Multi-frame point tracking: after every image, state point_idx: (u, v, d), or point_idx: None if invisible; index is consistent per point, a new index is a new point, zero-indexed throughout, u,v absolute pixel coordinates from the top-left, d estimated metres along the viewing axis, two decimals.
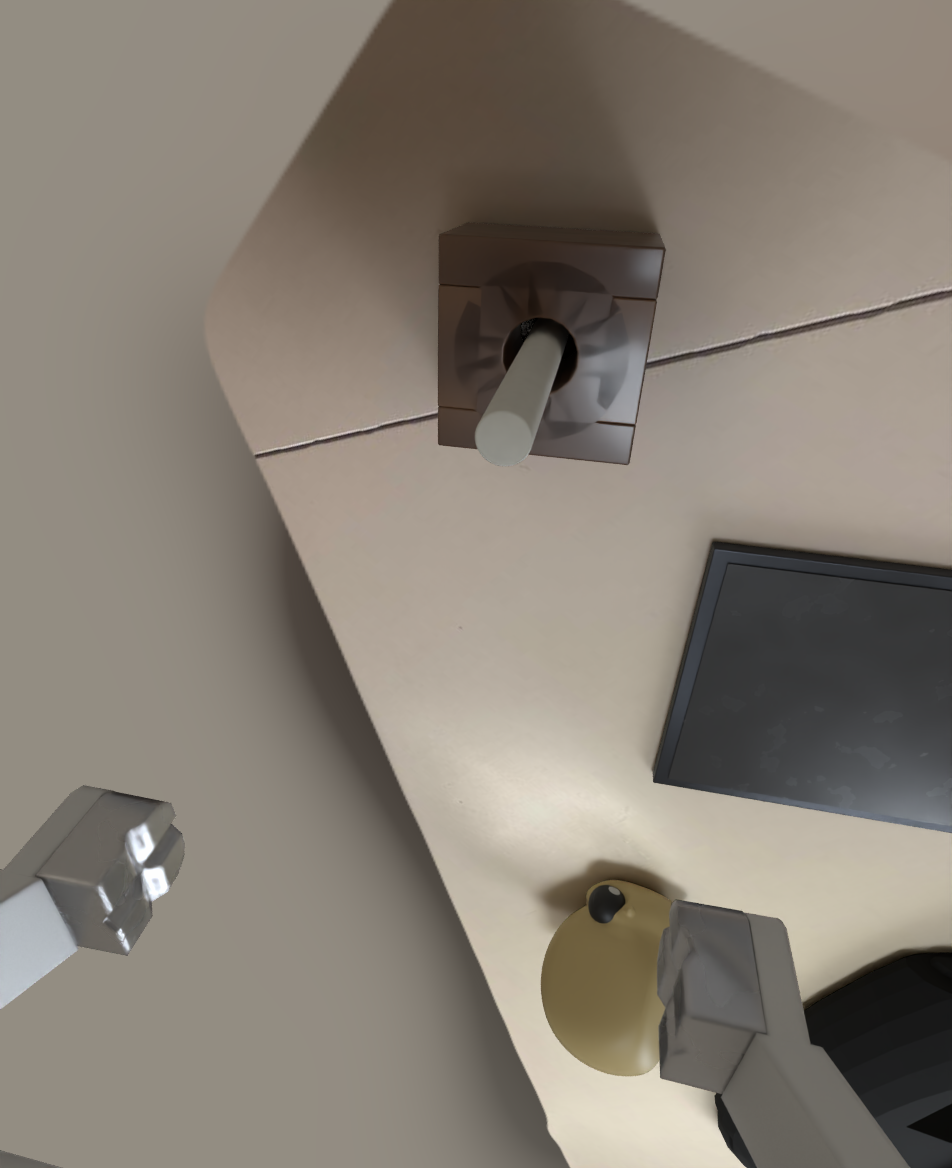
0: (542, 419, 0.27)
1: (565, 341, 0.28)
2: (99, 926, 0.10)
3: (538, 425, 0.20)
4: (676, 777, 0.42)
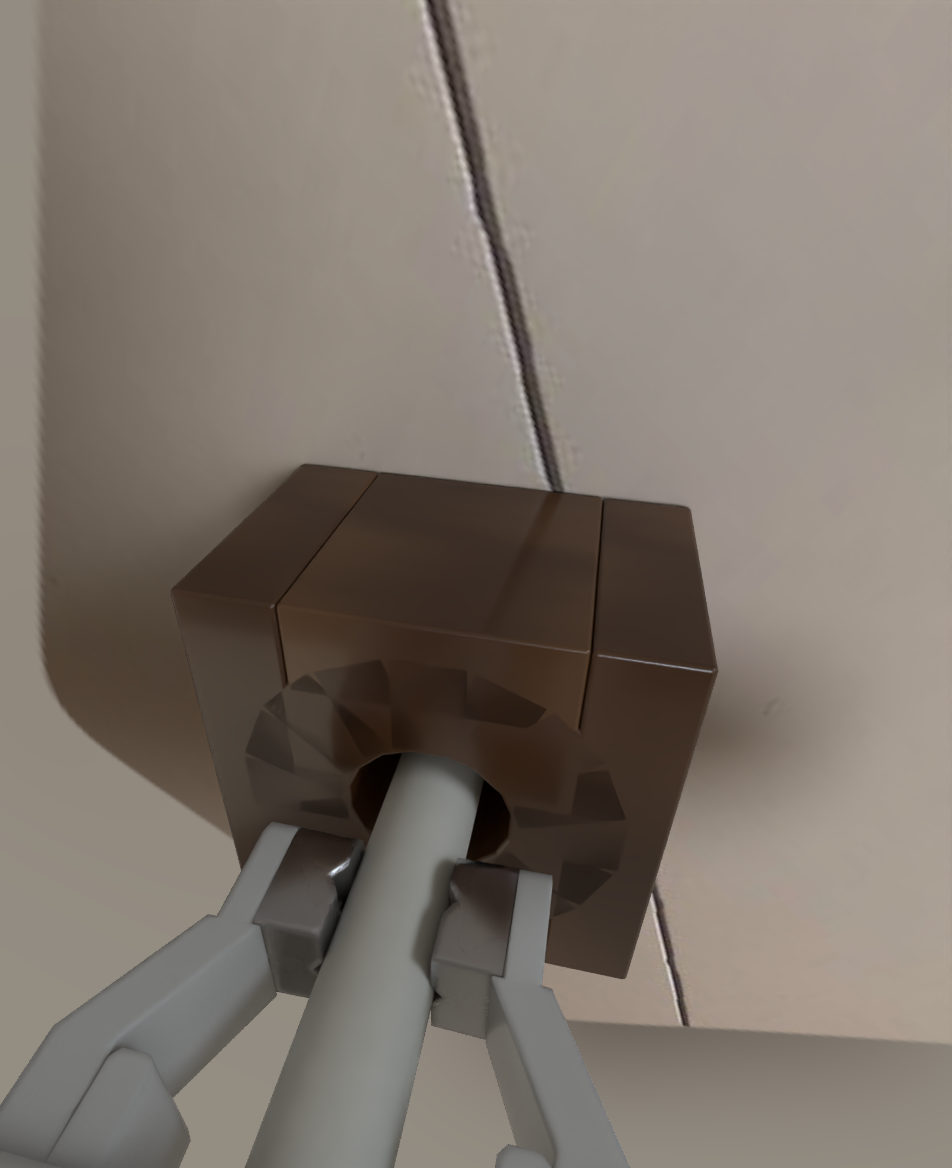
0: (570, 827, 0.11)
1: None
2: (308, 973, 0.10)
3: None
4: None
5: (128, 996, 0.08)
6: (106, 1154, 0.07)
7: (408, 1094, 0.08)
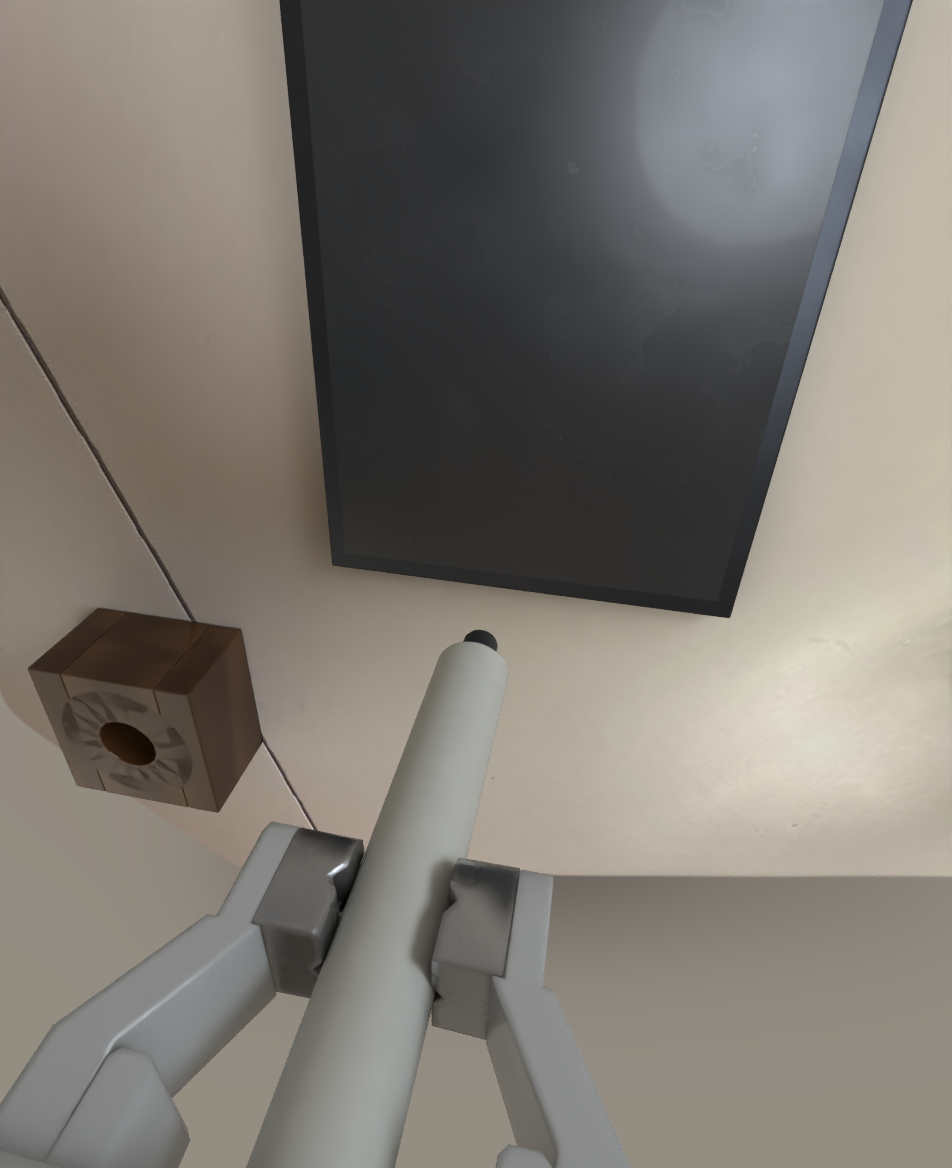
0: (172, 748, 0.32)
1: (451, 691, 0.13)
2: (307, 973, 0.10)
3: None
4: (714, 590, 0.27)
5: (127, 996, 0.08)
6: (105, 1154, 0.07)
7: (408, 1097, 0.08)
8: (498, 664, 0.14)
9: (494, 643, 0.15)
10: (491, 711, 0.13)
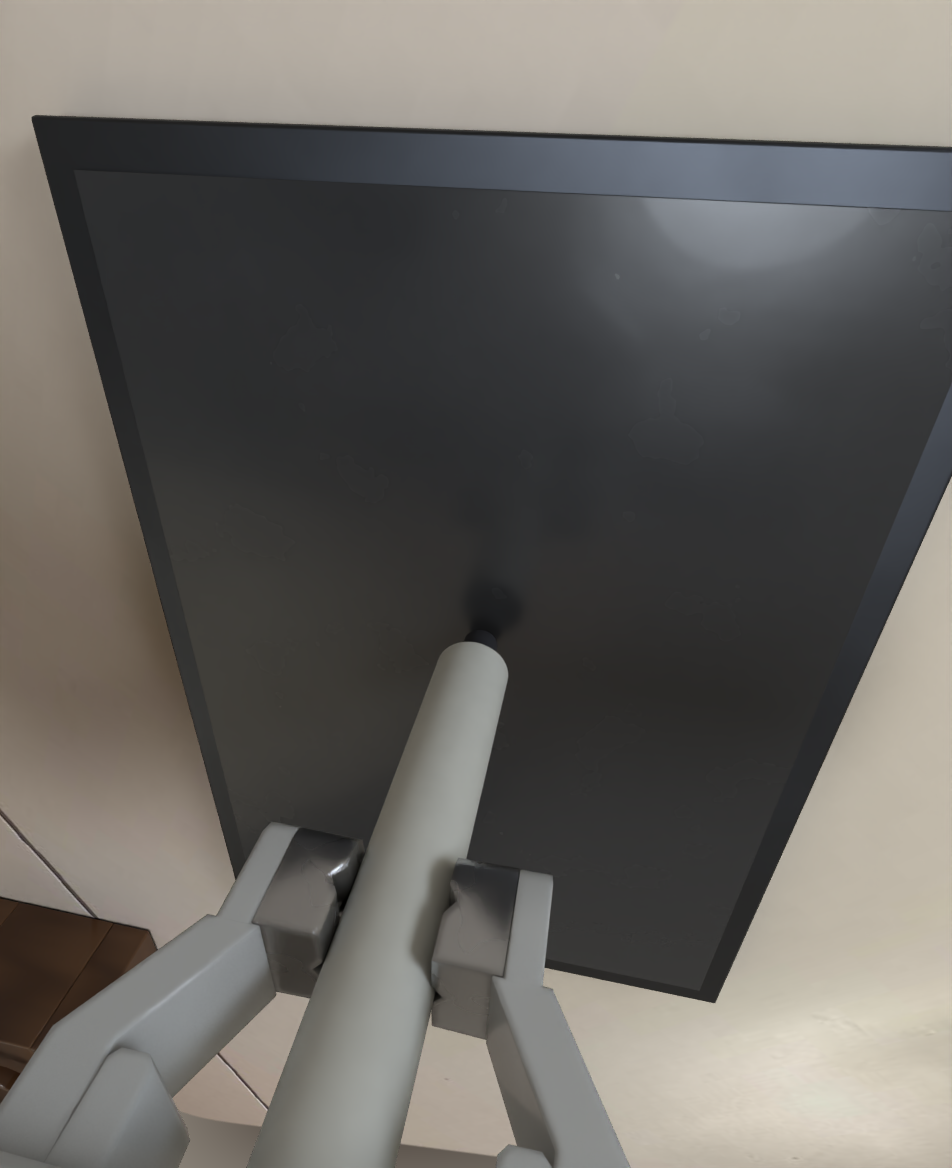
0: None
1: (451, 691, 0.13)
2: (307, 973, 0.10)
3: None
4: (696, 981, 0.22)
5: (127, 996, 0.08)
6: (105, 1154, 0.07)
7: (408, 1096, 0.08)
8: (498, 664, 0.14)
9: (494, 643, 0.15)
10: (491, 711, 0.13)
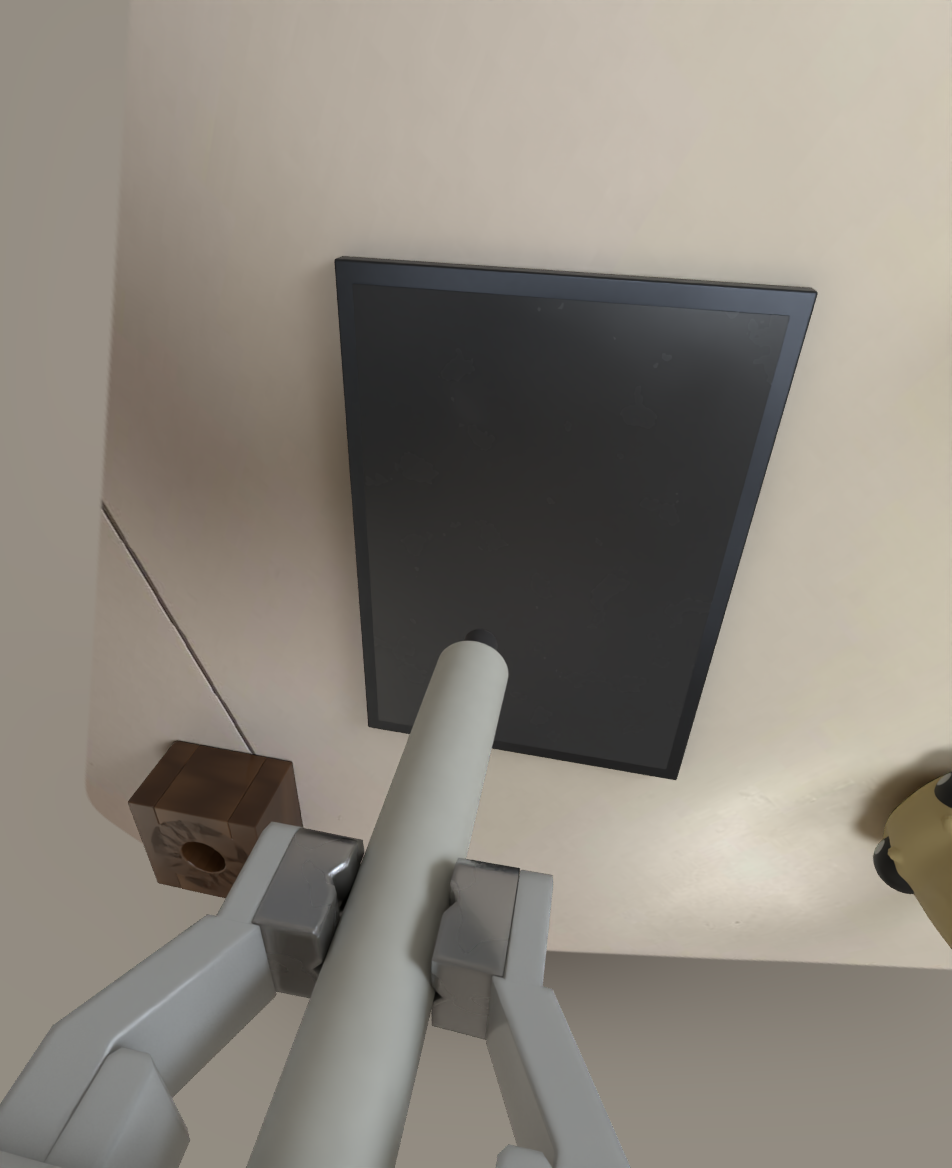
0: (239, 862, 0.40)
1: (451, 690, 0.13)
2: (307, 973, 0.10)
3: None
4: (663, 762, 0.35)
5: (127, 996, 0.08)
6: (105, 1154, 0.07)
7: (409, 1094, 0.08)
8: (498, 663, 0.14)
9: (495, 642, 0.15)
10: (491, 710, 0.13)
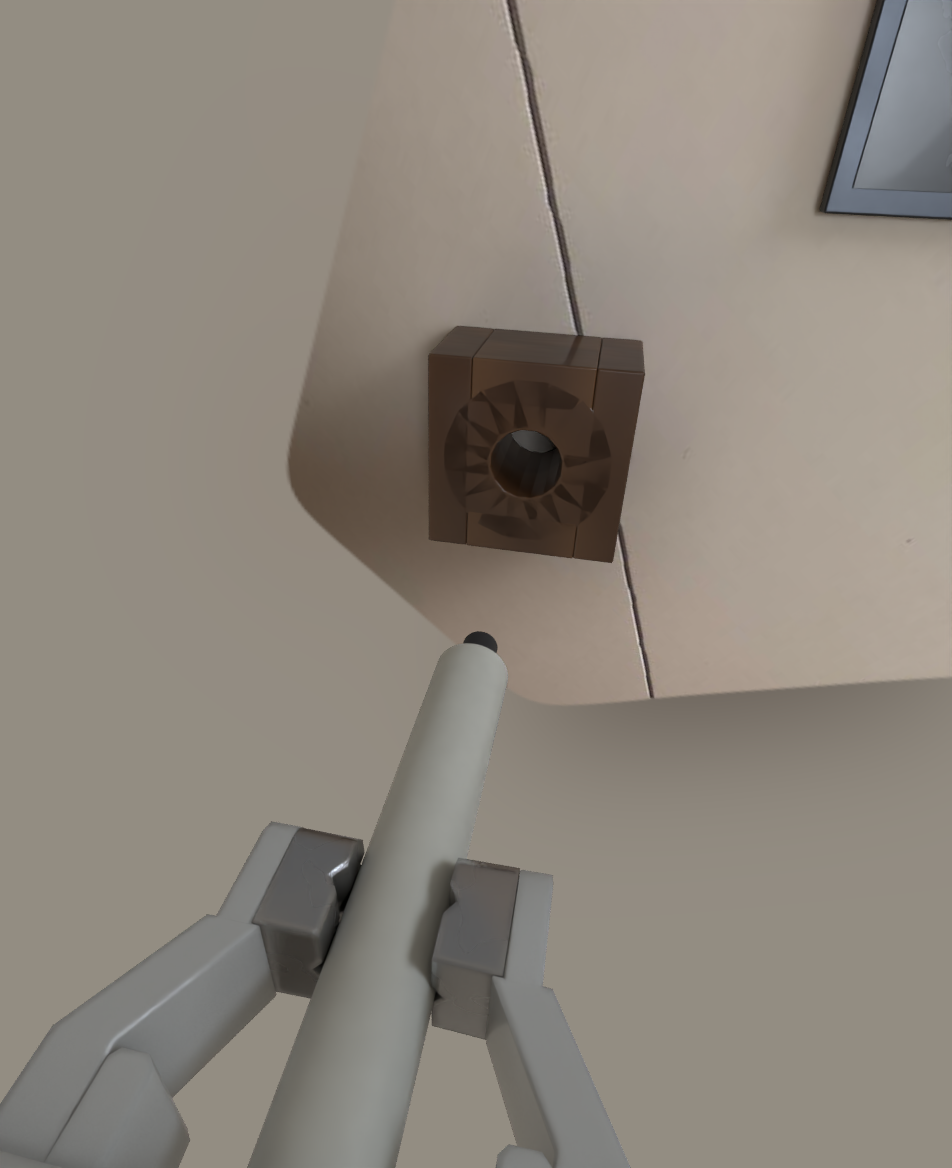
0: (587, 464, 0.26)
1: (451, 693, 0.13)
2: (307, 972, 0.10)
3: None
4: None
5: (127, 996, 0.08)
6: (105, 1154, 0.07)
7: (408, 1100, 0.08)
8: (499, 666, 0.14)
9: (494, 645, 0.15)
10: (491, 713, 0.13)
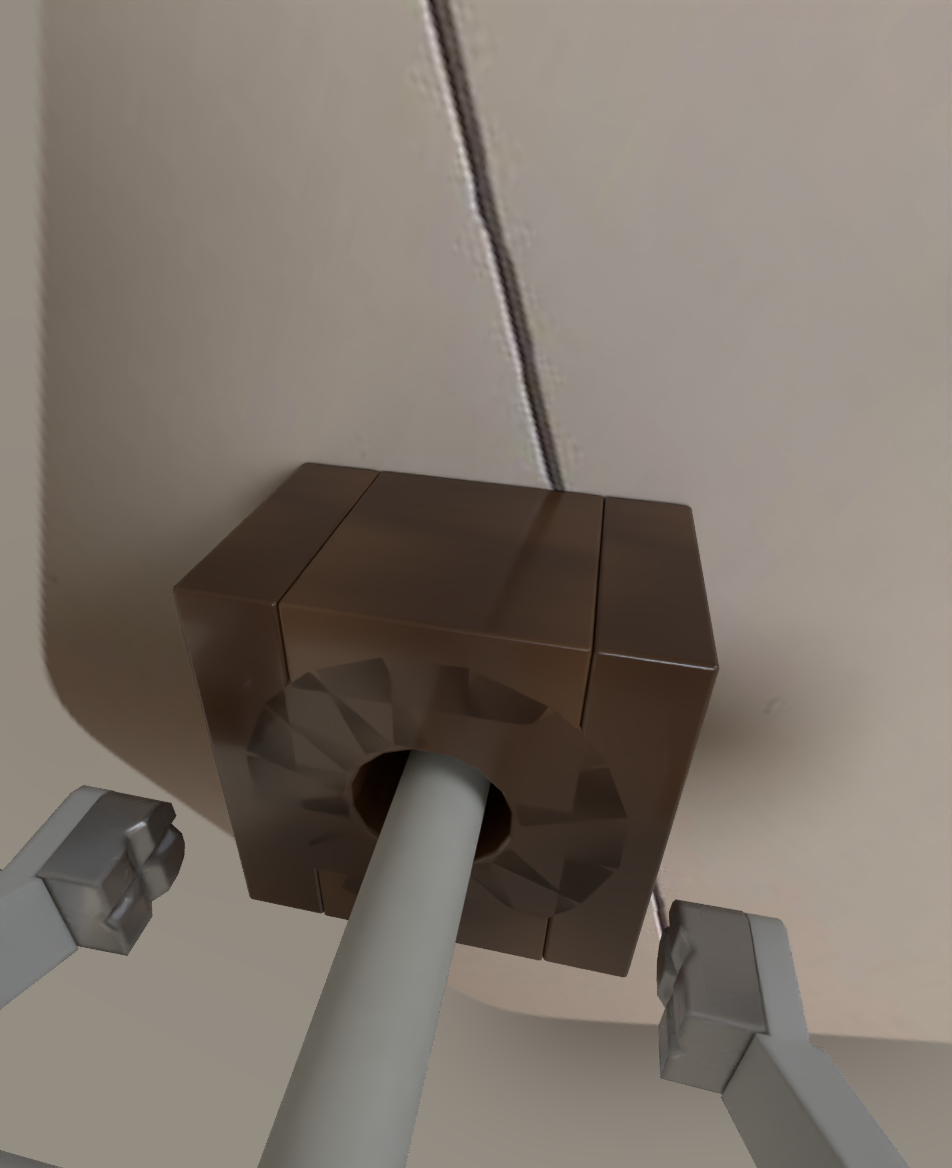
0: (571, 825, 0.11)
1: None
2: (99, 926, 0.10)
3: None
4: None
5: None
6: None
7: (419, 1095, 0.08)
8: None
9: None
10: None
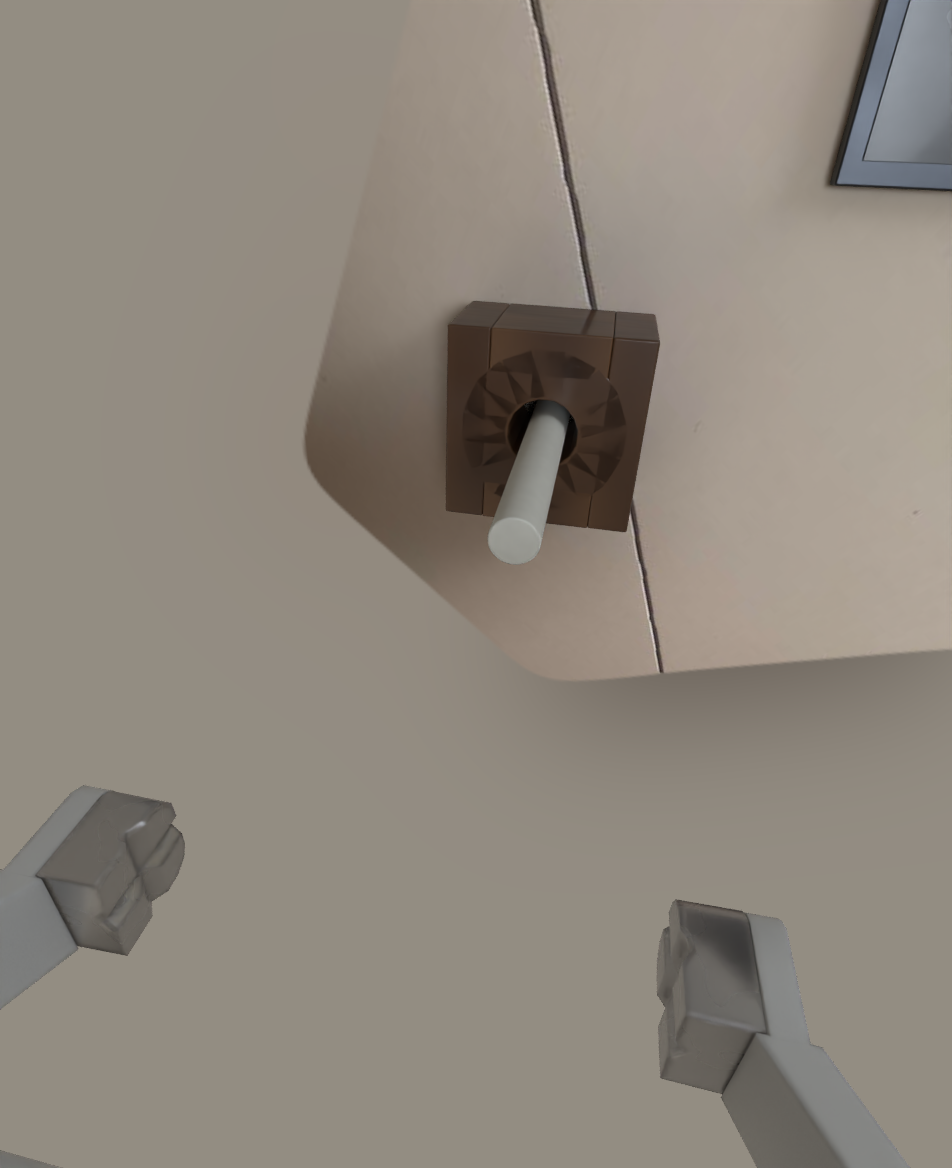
0: (603, 433, 0.27)
1: None
2: (99, 926, 0.10)
3: (524, 496, 0.21)
4: None
5: None
6: None
7: (555, 476, 0.24)
8: None
9: None
10: None
